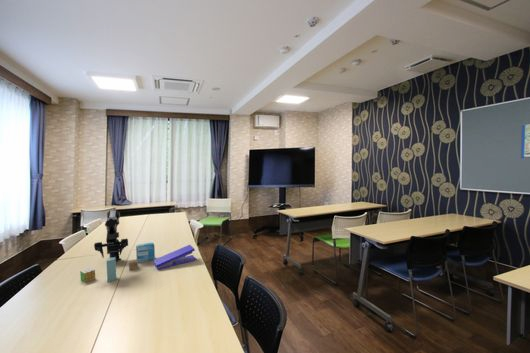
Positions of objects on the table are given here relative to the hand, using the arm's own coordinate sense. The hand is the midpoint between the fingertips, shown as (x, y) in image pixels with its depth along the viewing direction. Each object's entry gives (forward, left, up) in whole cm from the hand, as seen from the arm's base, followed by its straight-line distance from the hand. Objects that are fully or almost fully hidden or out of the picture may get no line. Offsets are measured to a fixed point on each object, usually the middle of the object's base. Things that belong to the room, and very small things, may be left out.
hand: (111, 256), depth 155 cm
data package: (-2, +26, -13) cm, 29 cm away
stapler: (+23, +32, -13) cm, 41 cm away
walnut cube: (+2, +13, -13) cm, 18 cm away
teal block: (+5, -4, -12) cm, 14 cm away
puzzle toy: (-9, -10, -13) cm, 18 cm away
